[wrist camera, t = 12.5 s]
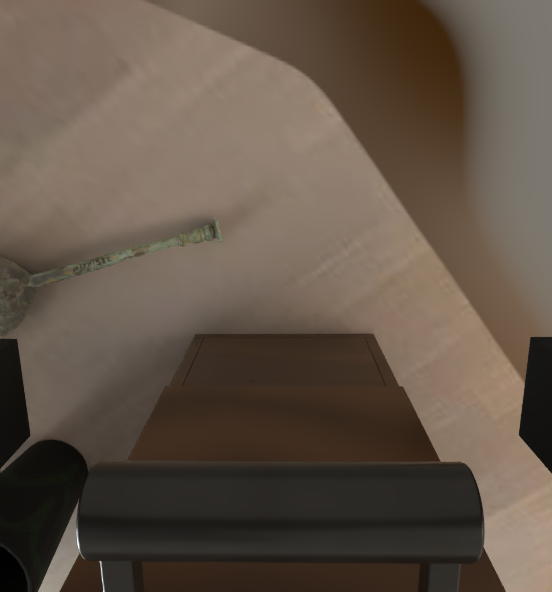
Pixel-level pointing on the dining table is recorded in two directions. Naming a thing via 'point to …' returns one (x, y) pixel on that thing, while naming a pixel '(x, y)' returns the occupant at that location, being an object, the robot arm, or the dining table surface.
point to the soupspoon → (74, 273)
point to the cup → (36, 511)
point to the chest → (284, 361)
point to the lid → (281, 499)
